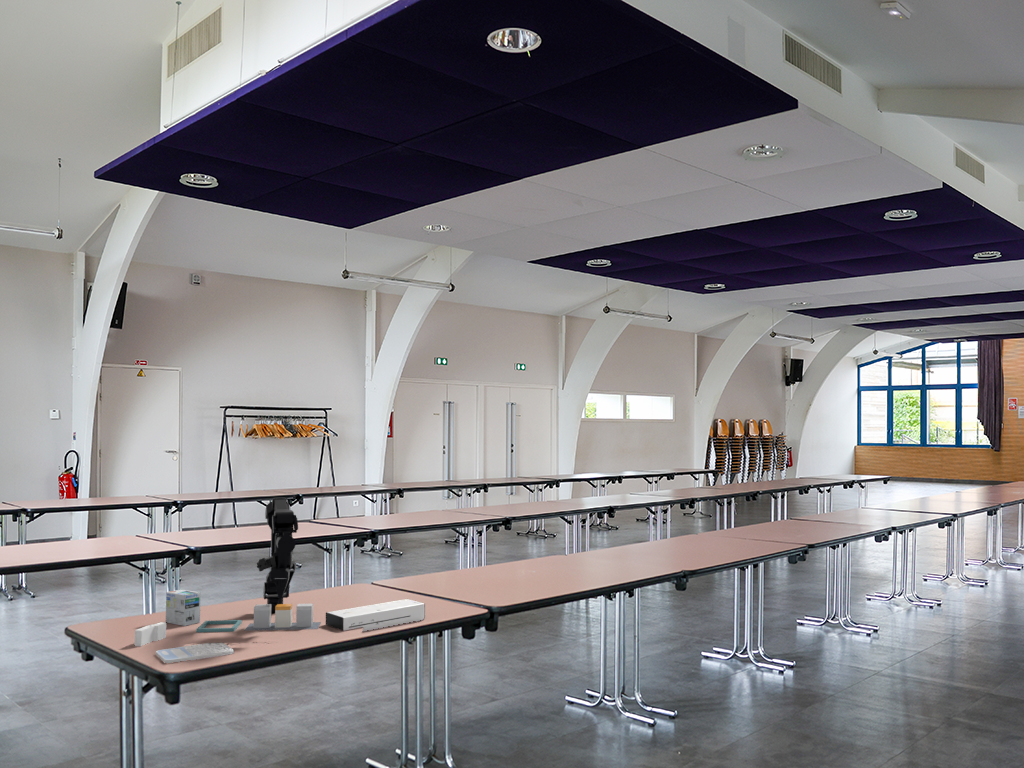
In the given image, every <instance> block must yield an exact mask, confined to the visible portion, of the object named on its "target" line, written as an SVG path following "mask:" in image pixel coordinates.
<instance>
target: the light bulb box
mask: <svg viewBox="0 0 1024 768" xmlns="http://www.w3.org/2000/svg"><path fill="white" fill-rule="evenodd" d="M165 593H166V594H165V623H166V622H167V623H166V624H173V625H177V626H183V627H186V626H190V625H195V624H199V623H201V591H195V590H188V589H176V590H171V591H170V590H169V591H166V592H165Z"/></svg>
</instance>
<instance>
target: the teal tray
mask: <svg viewBox="0 0 1024 768" xmlns="http://www.w3.org/2000/svg"><path fill="white" fill-rule="evenodd" d="M208 625H233V626H232V627H207V626H208ZM241 625H242V619H231V620H229V619H227V620H226V619H225V620H224V619H223V620H221V619H220V620H219V619H217V620H215V619H214V620H204V622H203V623H202V624H200V625H199V626H198V627H197V628H196V629H195V631H196V633H227V632H228V633H231V632H232V633H233V632H235V631H236V630H237V629H238V628H239V626H241Z"/></svg>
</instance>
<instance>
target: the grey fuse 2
mask: <svg viewBox="0 0 1024 768" xmlns="http://www.w3.org/2000/svg"><path fill="white" fill-rule="evenodd" d="M295 613H296V616H295V617H296V618H295V619H296V621H295V623H296V627H312V625H313V622H314V603H297V605H296V612H295Z"/></svg>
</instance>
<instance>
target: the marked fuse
mask: <svg viewBox="0 0 1024 768" xmlns="http://www.w3.org/2000/svg"><path fill="white" fill-rule="evenodd" d="M274 623H275V628H287V627H291V625H292V623H293V603H283V604H277V605H276V606H275V614H274Z"/></svg>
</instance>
